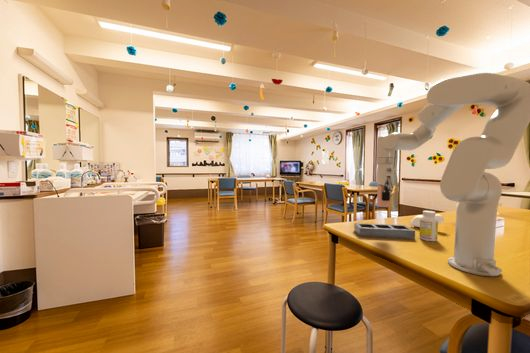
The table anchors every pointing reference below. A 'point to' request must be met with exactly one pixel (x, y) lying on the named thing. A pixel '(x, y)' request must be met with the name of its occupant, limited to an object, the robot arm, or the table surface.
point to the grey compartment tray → (384, 231)
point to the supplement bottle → (429, 226)
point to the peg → (379, 197)
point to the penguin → (417, 219)
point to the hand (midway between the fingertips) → (383, 199)
